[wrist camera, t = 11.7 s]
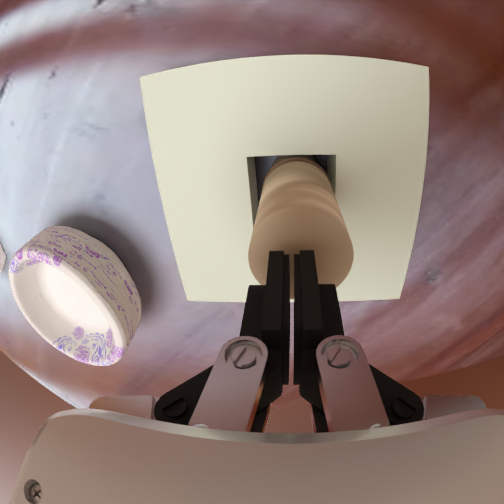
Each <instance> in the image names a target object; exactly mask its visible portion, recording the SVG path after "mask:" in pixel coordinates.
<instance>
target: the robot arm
mask: <svg viewBox="0 0 504 504" xmlns="http://www.w3.org/2000/svg"><path fill="white" fill-rule="evenodd" d="M289 349H290V259H289V254H284V251H269V259H268V269H267V279H266V285H249V287H248V292H247V298H246V303H245V309H244V314H243V320H242V326H241V331H240V337H236V338H233V339H231V340H229V341H228V342H227V343H225V344H224V345H223V347H222V348H221V350H220V352H219V354H218V357H217V359H216V361H215V364H214V365H213V366H211V367H209V368H208V369H206V370H204V371H203V372H201V373H199V374H198V375H196V376H194V377H193V378H191V379H189V380H188V381H186V382H184V383H183V384H181V385H179V386H177V387H176V388H174V389H172V390H170V391H169V392H167V393H165V394H164V395H163V396H161V397H160V398H154V397H153V396H152V395H150V396H102V397H99V398H97V399H95V400H94V401H93V402H92V403H91V404H90V406H89V409H88V408H85V409H71V410H66V411H61V412H58V413H56V414H54V415H52V416H50V417H49V418H48V419H47V420H46V421H45V423H44V424H43V425H42V426H41V428H40V430H39V431H38V433H37V435H36V436H35V438H34V440H33V442H32V444H31V446H30V448H29V450H28V453H27V455H26V457H25V460H24V462H23V465H22V467H21V470H20V473H19V476H18V479H17V482H16V485H15V488H14V491H13V495H12V498H11V501H10V504H504V410H499V409H486V406H485V404H484V402H483V401H482V400H481V399H480V398H478V397H476V396H439V395H427V396H426V397H425V398H420V397H419V396H417V395H416V394H415V393H414V392H412V391H410V390H409V389H407V388H405V387H404V386H403V385H401V384H399V383H398V382H396V381H395V380H393V379H391V378H390V377H388V376H387V375H385V374H384V373H382V372H381V371H379V370H377V369H376V368H374V367H373V366H371V365H370V364H368V361H367V358H366V356H365V353H364V351H363V348H362V347H361V345H360V344H359V343H358V342H357V341H356V340H355V339H353V338H351V337H348V336H344V331H343V325H342V319H341V313H340V307H339V302H338V296H337V291H336V286H335V284H318V277H317V269H316V262H315V254H314V250H300V251H299V254H294V383H293V384H294V385H299V393H300V395H301V396H302V397H303V398H304V399H306V400H307V401H308V402H309V408H310V413H311V419H312V425H313V430H314V433H264V432H265V429H266V425H267V421H268V417H269V414H270V410H271V404H272V402H273V401H274V400H276V399H277V398H278V397H280V396H281V393H282V387H283V385H289Z"/></svg>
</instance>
